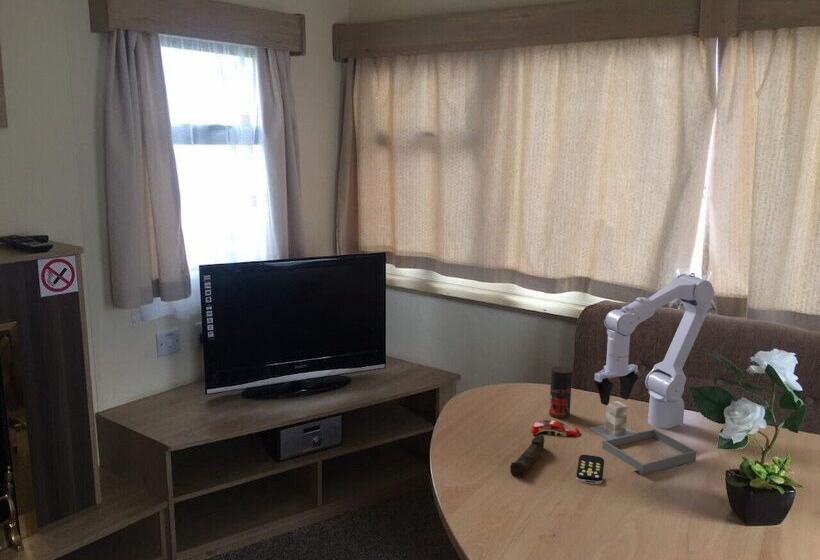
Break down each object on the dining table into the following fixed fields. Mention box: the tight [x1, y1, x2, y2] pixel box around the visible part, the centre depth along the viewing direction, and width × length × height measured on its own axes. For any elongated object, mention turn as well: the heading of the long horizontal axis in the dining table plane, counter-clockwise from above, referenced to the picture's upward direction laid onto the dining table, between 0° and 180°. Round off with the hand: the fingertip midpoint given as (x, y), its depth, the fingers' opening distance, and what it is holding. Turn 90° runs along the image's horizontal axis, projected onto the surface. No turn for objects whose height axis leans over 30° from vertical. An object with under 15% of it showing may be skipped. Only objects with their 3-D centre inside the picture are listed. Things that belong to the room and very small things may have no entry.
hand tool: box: [509, 434, 545, 478], centre depth 188 cm, size 19×4×5 cm, turn 149°
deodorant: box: [548, 365, 573, 420], centre depth 214 cm, size 6×6×15 cm
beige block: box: [604, 400, 628, 436], centre depth 203 cm, size 4×4×8 cm
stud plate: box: [589, 423, 637, 440], centre depth 204 cm, size 10×10×4 cm
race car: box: [531, 419, 581, 439], centre depth 204 cm, size 13×5×4 cm, turn 76°
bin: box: [601, 428, 697, 477], centre depth 191 cm, size 18×15×3 cm
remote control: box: [575, 454, 605, 485], centre depth 183 cm, size 6×13×2 cm, turn 163°
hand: (614, 401), depth 201 cm, fingers open, 7 cm apart
